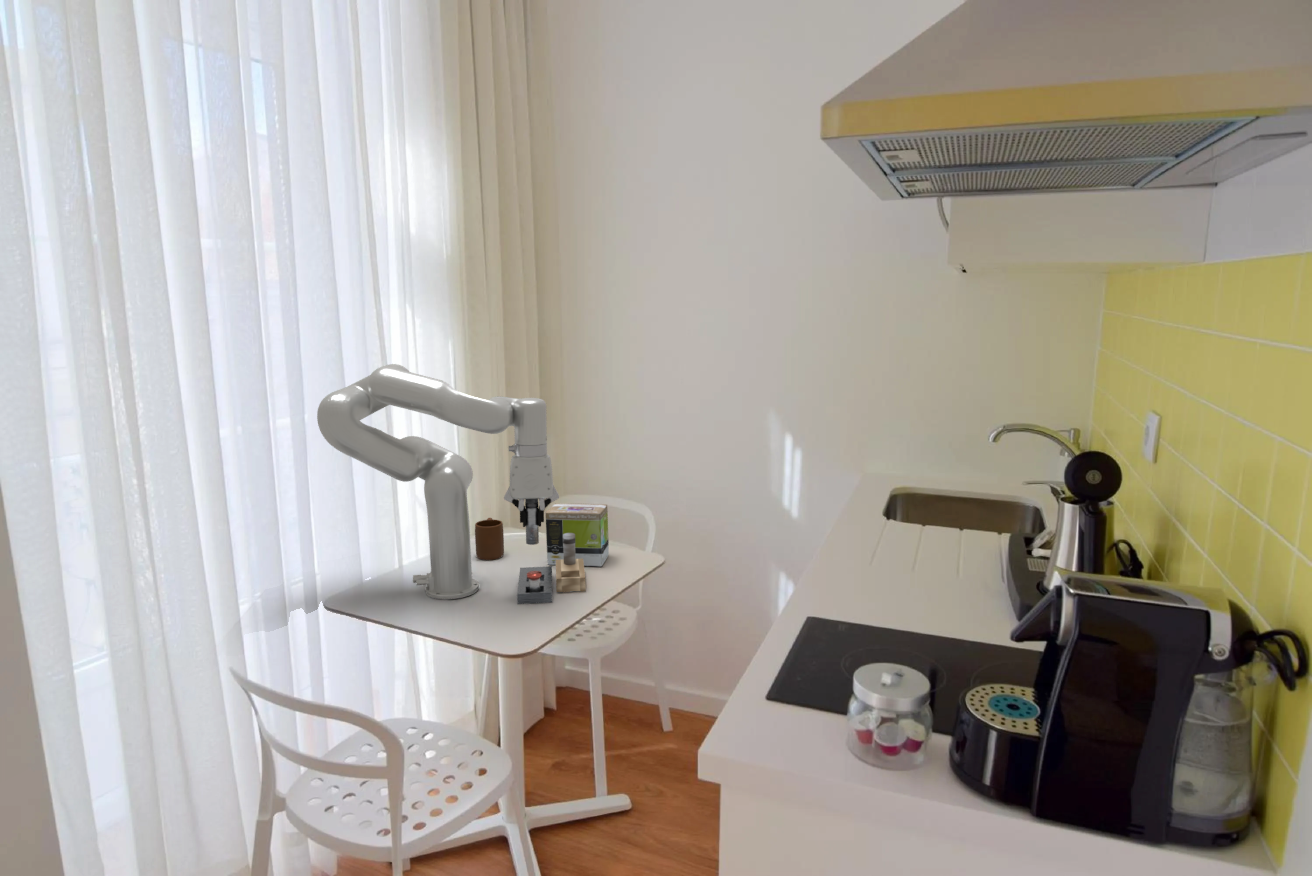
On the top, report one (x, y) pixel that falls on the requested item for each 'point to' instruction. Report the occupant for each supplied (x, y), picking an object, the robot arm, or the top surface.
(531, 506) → the grey metal cylinder
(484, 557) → the mug
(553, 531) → the tea box
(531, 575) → the red topped peg
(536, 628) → the top surface
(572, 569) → the rack
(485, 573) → the top surface
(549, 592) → the socket block
